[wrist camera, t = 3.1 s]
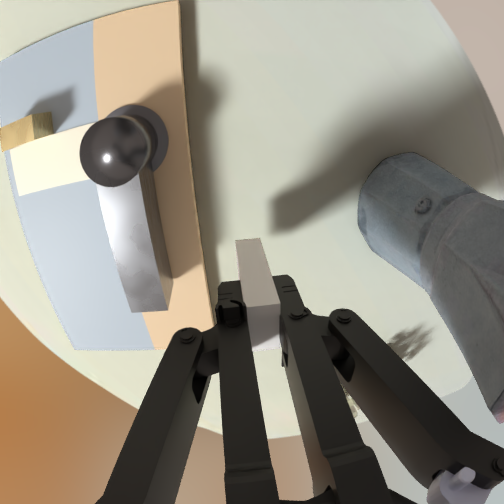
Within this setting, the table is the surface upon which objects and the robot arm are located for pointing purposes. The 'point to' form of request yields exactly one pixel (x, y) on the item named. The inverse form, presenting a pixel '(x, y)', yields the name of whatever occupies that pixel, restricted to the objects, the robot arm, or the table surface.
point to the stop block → (26, 130)
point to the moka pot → (444, 255)
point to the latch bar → (130, 206)
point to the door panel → (85, 190)
